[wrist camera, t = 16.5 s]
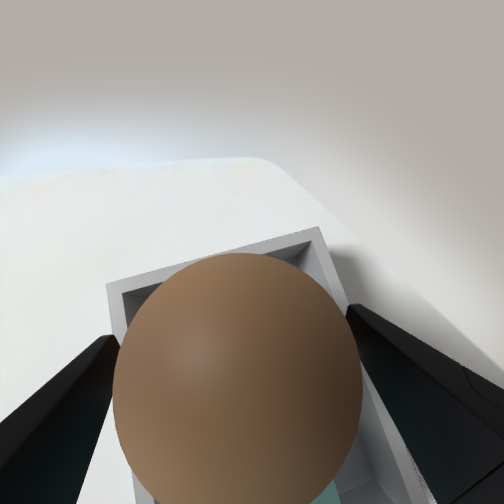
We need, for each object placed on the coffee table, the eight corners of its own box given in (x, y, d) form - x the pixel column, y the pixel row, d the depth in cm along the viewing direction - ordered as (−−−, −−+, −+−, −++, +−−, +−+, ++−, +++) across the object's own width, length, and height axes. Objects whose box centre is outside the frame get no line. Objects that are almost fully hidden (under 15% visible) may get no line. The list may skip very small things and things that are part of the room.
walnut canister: (276, 358, 17) (390, 504, 4) (209, 367, 16) (105, 558, 4) (268, 290, 18) (335, 244, 5) (205, 297, 18) (118, 263, 5)
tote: (384, 481, 16) (449, 557, 11) (190, 568, 14) (163, 705, 9) (299, 247, 20) (318, 226, 15) (141, 291, 18) (105, 283, 13)
